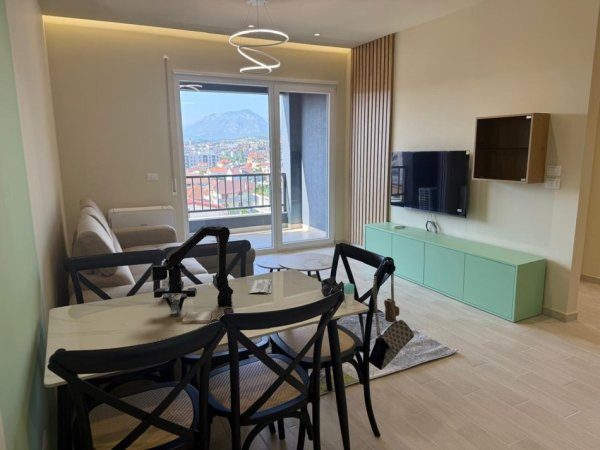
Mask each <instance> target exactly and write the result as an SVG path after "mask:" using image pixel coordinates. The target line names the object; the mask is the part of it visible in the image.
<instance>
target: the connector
mask: <svg viewBox="0 0 600 450" xmlns="http://www.w3.org/2000/svg"><path fill="white" fill-rule="evenodd" d="M182 310H183V308H182V309H181V310H180V298H174V299H172V303H171V309H170V316H172V317H177V316H180V313H181V312H182Z"/></svg>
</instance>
